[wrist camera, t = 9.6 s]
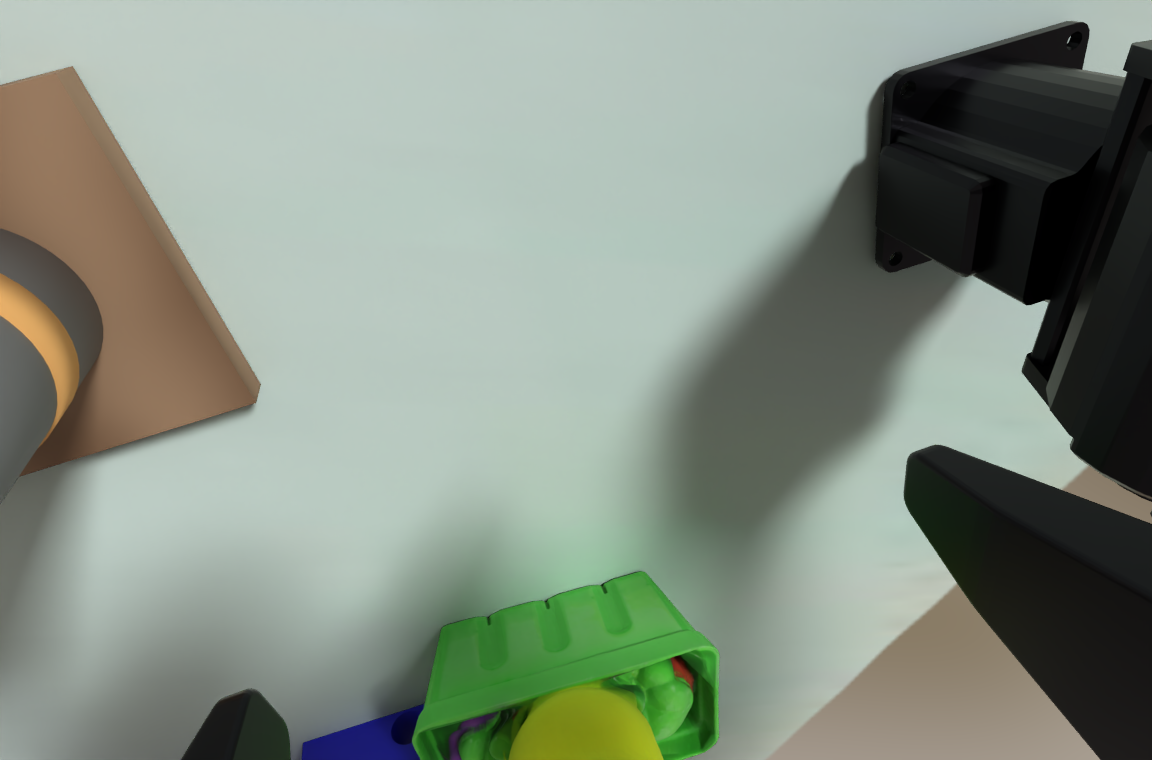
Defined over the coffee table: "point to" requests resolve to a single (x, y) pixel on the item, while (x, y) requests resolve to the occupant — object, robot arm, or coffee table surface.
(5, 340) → the orange-banded grey cylinder
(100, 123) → the walnut pad
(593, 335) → the coffee table surface
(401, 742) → the cable clip
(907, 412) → the coffee table surface
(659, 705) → the fruit basket
